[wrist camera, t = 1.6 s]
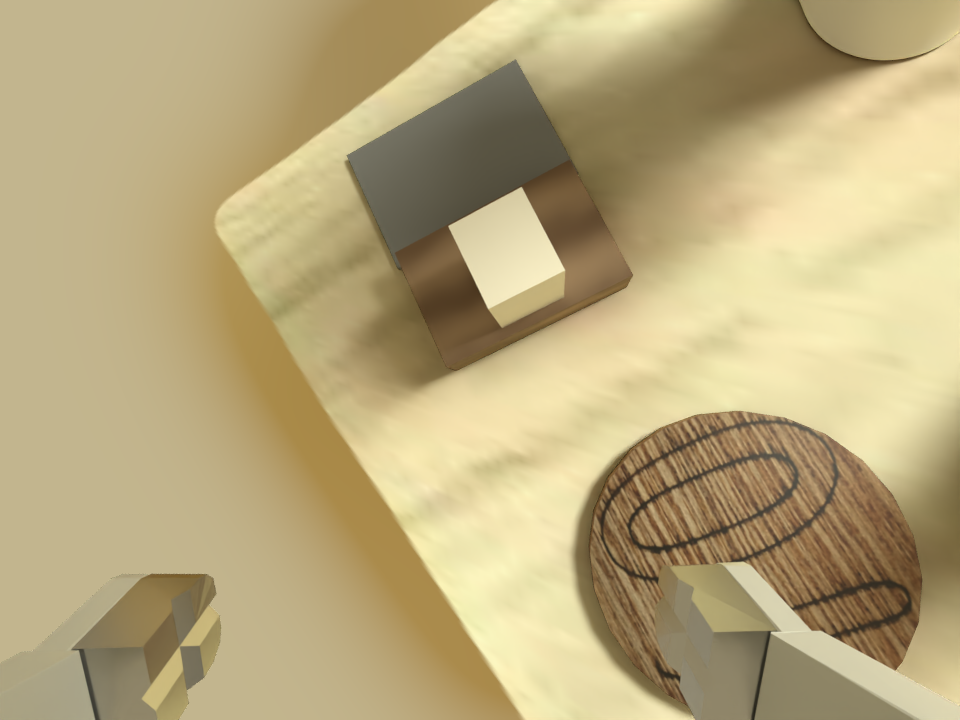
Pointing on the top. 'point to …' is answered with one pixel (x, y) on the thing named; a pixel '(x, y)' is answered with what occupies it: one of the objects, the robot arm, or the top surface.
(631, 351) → the top surface
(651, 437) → the trivet
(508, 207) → the cream block
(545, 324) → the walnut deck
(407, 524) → the top surface
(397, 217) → the charcoal mat
